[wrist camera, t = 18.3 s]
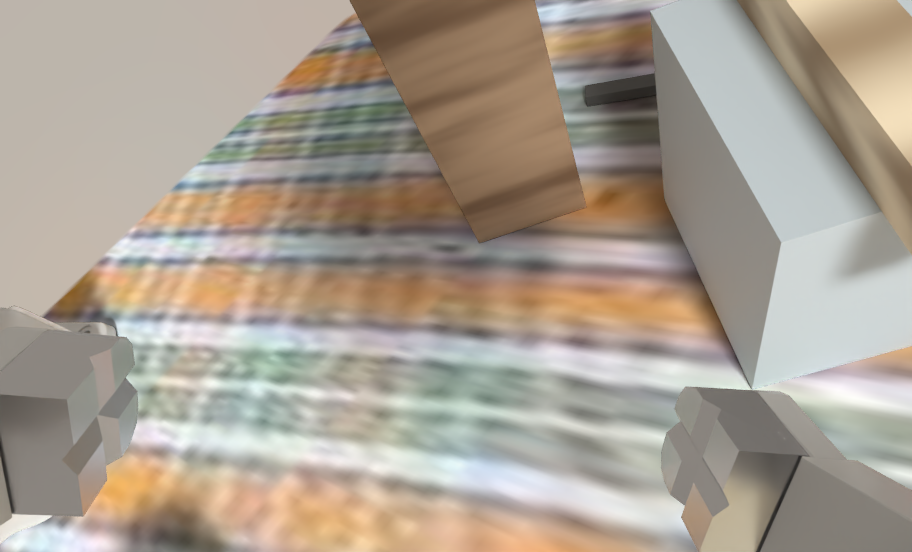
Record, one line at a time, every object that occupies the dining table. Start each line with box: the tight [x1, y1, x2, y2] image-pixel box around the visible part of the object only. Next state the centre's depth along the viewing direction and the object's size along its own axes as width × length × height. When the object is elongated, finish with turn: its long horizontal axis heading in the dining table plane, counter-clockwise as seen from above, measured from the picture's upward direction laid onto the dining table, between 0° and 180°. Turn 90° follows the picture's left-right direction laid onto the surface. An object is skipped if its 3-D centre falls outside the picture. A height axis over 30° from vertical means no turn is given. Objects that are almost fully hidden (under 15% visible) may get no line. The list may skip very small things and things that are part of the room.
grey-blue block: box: [650, 0, 912, 390], centre depth 32 cm, size 14×10×16 cm
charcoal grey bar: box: [585, 74, 657, 106], centre depth 46 cm, size 20×1×1 cm, turn 85°
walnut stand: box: [350, 0, 586, 243], centre depth 37 cm, size 9×8×26 cm
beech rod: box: [737, 0, 912, 255], centre depth 23 cm, size 20×3×3 cm, turn 9°
